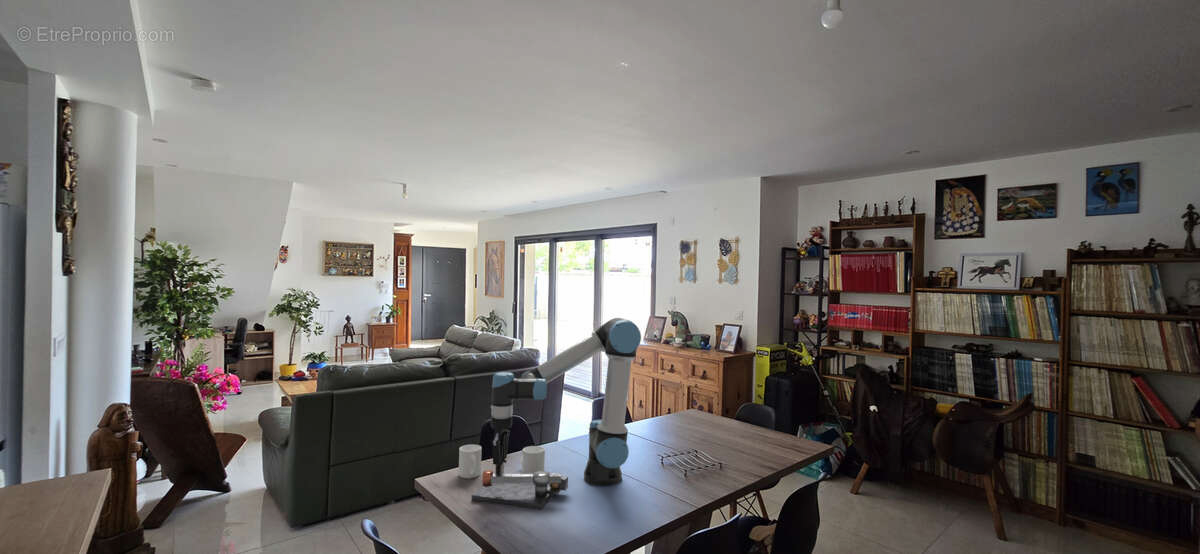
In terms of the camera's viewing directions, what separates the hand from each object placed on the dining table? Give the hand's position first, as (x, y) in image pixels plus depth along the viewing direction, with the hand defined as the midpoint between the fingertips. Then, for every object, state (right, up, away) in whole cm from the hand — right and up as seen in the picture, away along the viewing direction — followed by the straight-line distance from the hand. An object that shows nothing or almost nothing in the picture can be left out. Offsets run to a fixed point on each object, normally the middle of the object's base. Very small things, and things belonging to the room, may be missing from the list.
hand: (499, 481), depth 177 cm
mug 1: (-15, -6, +18) cm, 25 cm away
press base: (+8, -6, +1) cm, 10 cm away
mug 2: (+8, -7, +25) cm, 27 cm away
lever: (+8, 0, -2) cm, 9 cm away
